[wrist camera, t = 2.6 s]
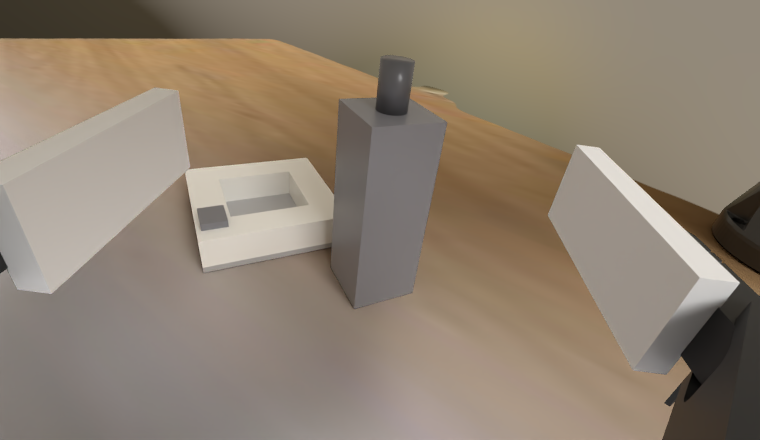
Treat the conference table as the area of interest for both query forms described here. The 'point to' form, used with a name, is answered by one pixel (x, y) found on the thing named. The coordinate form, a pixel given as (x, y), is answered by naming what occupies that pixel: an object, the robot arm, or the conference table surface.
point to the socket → (259, 211)
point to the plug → (383, 186)
